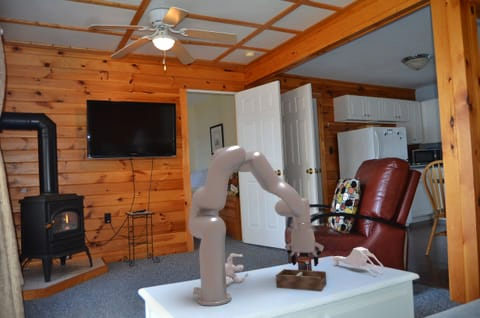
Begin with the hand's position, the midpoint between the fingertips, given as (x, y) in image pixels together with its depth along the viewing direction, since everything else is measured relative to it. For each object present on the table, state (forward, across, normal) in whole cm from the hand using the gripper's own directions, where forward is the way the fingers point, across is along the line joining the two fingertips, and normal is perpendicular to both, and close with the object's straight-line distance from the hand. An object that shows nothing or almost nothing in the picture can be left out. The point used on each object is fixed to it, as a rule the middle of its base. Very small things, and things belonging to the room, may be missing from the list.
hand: (305, 265), depth 162 cm
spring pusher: (+4, +1, -13) cm, 14 cm away
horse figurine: (+6, +19, +16) cm, 26 cm away
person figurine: (+5, -30, -19) cm, 36 cm away
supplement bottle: (+5, 0, 0) cm, 5 cm away
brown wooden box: (+5, +2, -13) cm, 14 cm away
